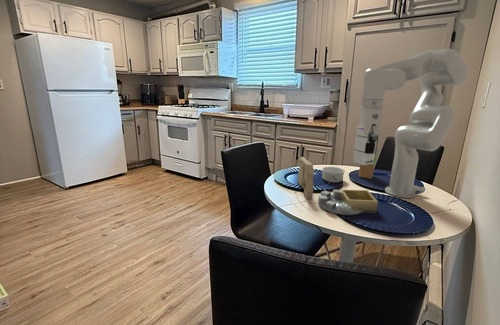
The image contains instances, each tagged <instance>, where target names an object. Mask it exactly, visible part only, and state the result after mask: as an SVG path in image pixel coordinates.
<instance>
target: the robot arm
mask: <svg viewBox="0 0 500 325" xmlns="http://www.w3.org/2000/svg"><path fill="white" fill-rule="evenodd" d="M363 75H364V76H363V83H362V92H361V98H360V109H361V111H360V116H359V117H360V118H359V125H358V126H363V127H364V135H366V136H367V143H366V146H365V153H366V154H374V149H375V143H376V139H377V136H379V137H380V134H381V127H382V115H383V113H382V109H383V106H384V101H385V91H397V90H400V89H402V88H403V87H404V86H405V84H406V82H409V81H414V80H416V79H418V78H420V87H421V94H420V97H419V99H418V101H417V102H416V105H415V106H414V107H413V110H412V112H410V115H409V118H408V119H409V123H410V124H405V125H401V126H400V127H398V128H397V129H396V130H395V134H394V144H395V145H394V146H395V147H394V156H393V161H392V166H391V173H390V180H389V185H388V186H386V187H385V188H384V192H386V194H388V195H390V196H392V197H394V198H395V197H397V198H401V199H413V198H415V197H416V195H417V194H416V192H424V191H425V188H424V187H423V186H418V185H415V184H414V183H415V179H416V174H417V168H418V164H419V153H418V152H417V150H420V151H426V152H435V151H436V150H438V148H440V146H441V144H443V143H442V142H443V141H444V139H445V137H446V136H447V134H448V132H449V131H450V129H451V127H452V125H453V122H454V120H455V111H454V109H453V108H452V107H450V106H446V105H442V103H443V101H444V96H443V93H442V92H441V90H440V89H439V87H438V86H459V85H462V84H463V83H465V82H466V80H467V78H468V75H469V68H468V65H467V64H466V62H465V61H464V59H463V57H462V56H461V55H460V53H459V52H458V51H456V49H453V48H442V49H431V50H425V51H423V52H420V53H417V54H415V55H413V56H410V57H409V58H405V59H402V60H397V61H394V62H391V63H387V64H384V65H381V66H378V67H375V68H368V69H366V70H365V71H364V74H363ZM369 132H370V133H372V134H373V135H371V134H369ZM369 137H371V138H369Z"/></svg>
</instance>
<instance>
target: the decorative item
mask: <svg viewBox="0 0 500 325" xmlns="http://www.w3.org/2000/svg"><path fill="white" fill-rule="evenodd" d="M374 170H375V164H369V165H361V164H359V169H358V177H359V178H362V179H372V178H373V176H374Z"/></svg>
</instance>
